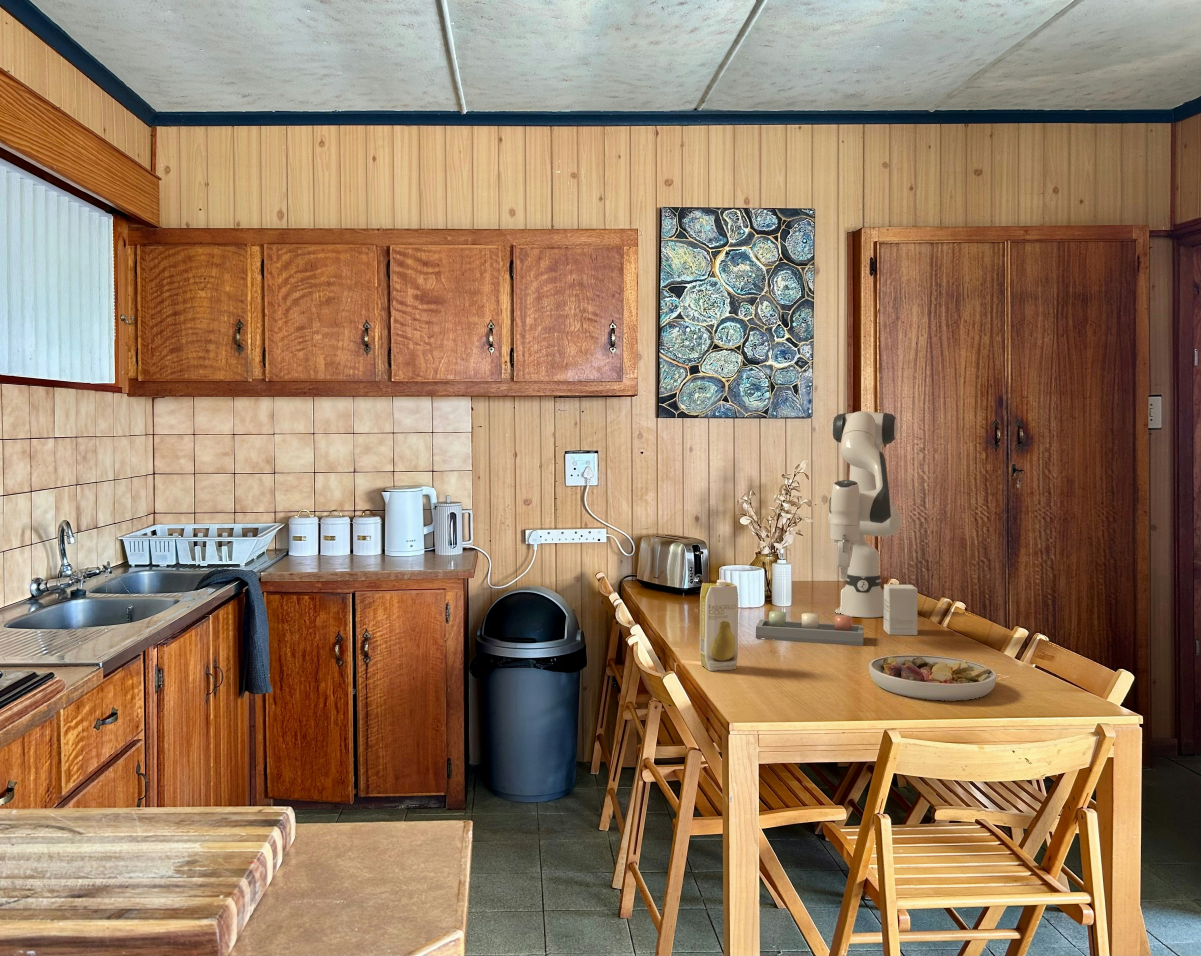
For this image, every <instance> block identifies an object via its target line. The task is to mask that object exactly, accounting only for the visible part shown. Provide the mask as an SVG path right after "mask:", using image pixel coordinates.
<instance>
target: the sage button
mask: <svg viewBox="0 0 1201 956" xmlns="http://www.w3.org/2000/svg"><path fill="white" fill-rule="evenodd" d="M768 620H769V626H773V627H785V626H786V621H787V612H786V611H781V610H780V611H779V610H776V611H775V610H773V611H771V610H770V611H769V612H768Z"/></svg>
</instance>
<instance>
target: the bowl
mask: <svg viewBox="0 0 1201 956" xmlns="http://www.w3.org/2000/svg"><path fill="white" fill-rule="evenodd" d="M868 671H869V675H870V677H871V679H872V680H873V682H874V684H876V685H877V686H878V687H880V688H882V689H884V690H885V691H887V692H890V693H893V694H896V695H899V696H904V697H908V698H913V699H918V700H925V699H926V700H927V701H935V700H941V701H940V702H957V701H956V700H964V701H970V700H969V699H972V700H975V698H976V699H979V697H980V698H982V697H985V696H986V695H988V694H989V693H991V692H992V690H994V688H995V685H996V683H997V673H996V672H995V671H994V670H993V669H992V668H990V667H988V666H986V665H983V664H981V663H977V662H975V661H973V662H972V661H969V660H964V659H961V658H953V657H948V656H947V657H946V656H938V655H926V654H896V655H887V656H882V657H878V658H875V659H872V660H871V661H870V662H869V663H868ZM944 700H945V701H944Z"/></svg>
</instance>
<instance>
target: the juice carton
mask: <svg viewBox="0 0 1201 956" xmlns="http://www.w3.org/2000/svg"><path fill="white" fill-rule="evenodd" d="M699 596H700V597H699V598H700V599H699V660H700V665H701V667H703V666H704V667H705V668H704V667H703V668H704V669H706V670H707V671H709V672H716V671H717V672H718V670H719V671H730V670H731V671H732V670H733V669H734V670H736V669H737V664H738V654H739V650H738V649H739V647H738V646H739V592H738V586H737V585H736V584H734V583H732V582H728V581H727V580H725V579H716V583H709V582H702V584H701V588H700V595H699Z"/></svg>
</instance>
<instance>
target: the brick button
mask: <svg viewBox="0 0 1201 956" xmlns="http://www.w3.org/2000/svg"><path fill="white" fill-rule="evenodd" d="M834 624H835V630H838V631H851V630H852V625H853V616H849V615H844V614H836V615H834Z"/></svg>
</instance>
